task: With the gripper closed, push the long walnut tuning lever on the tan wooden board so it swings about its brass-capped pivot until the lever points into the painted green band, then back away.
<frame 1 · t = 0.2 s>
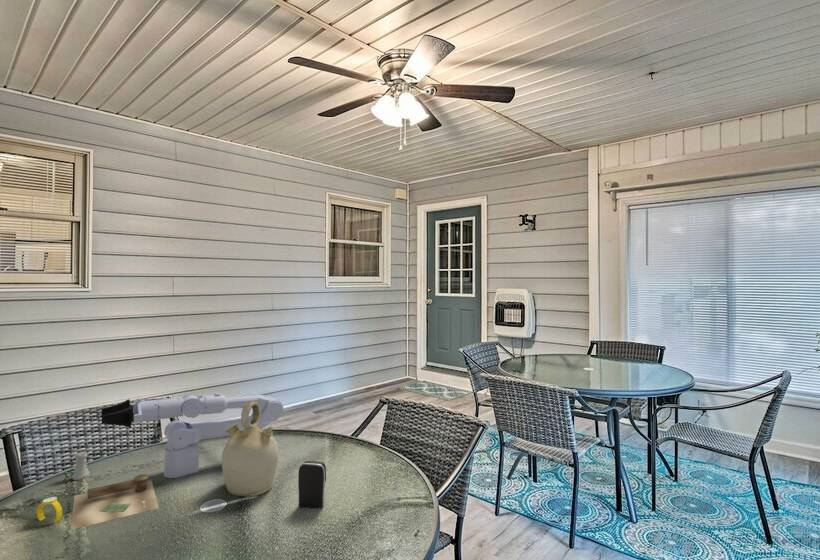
hand: (101, 416, 124), 21 cm above the table, tool horizontal, fingers open, 7 cm apart
tan wooden board: (115, 504, 116), on the table
rook chess piece: (80, 480, 131), on the table
battery charger: (312, 505, 118), on the table
watch: (49, 524, 107), on the table
jug: (250, 489, 127), on the table
peg lever: (118, 488, 120), point 3 cm above the table, hinge at 0.0°
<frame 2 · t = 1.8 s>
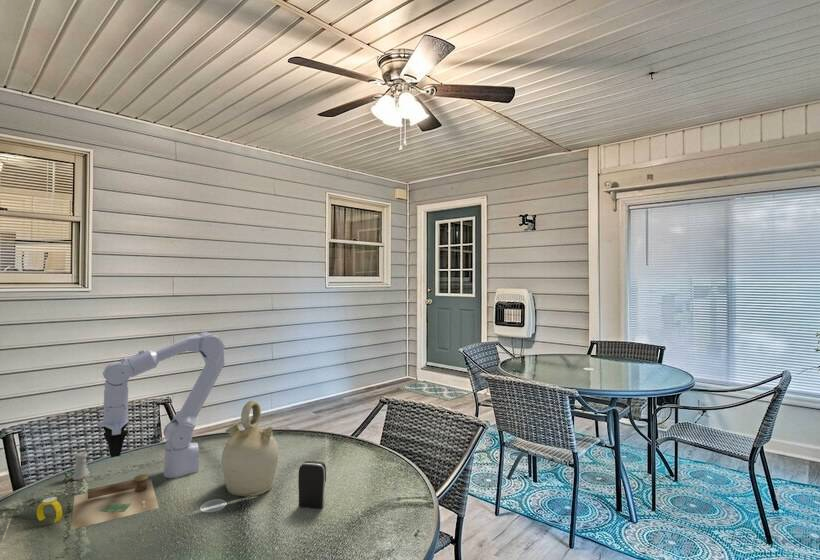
hand: (115, 453, 125), 10 cm above the table, tool pointing down, fingers open, 5 cm apart
nothing on the table moved.
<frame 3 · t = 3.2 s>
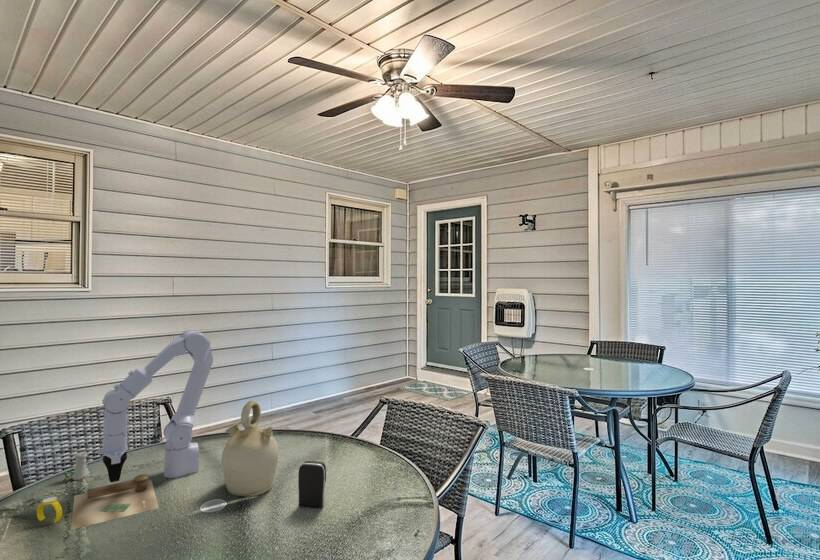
hand: (114, 480, 125), 3 cm above the table, tool pointing down, fingers closed
nothing on the table moved.
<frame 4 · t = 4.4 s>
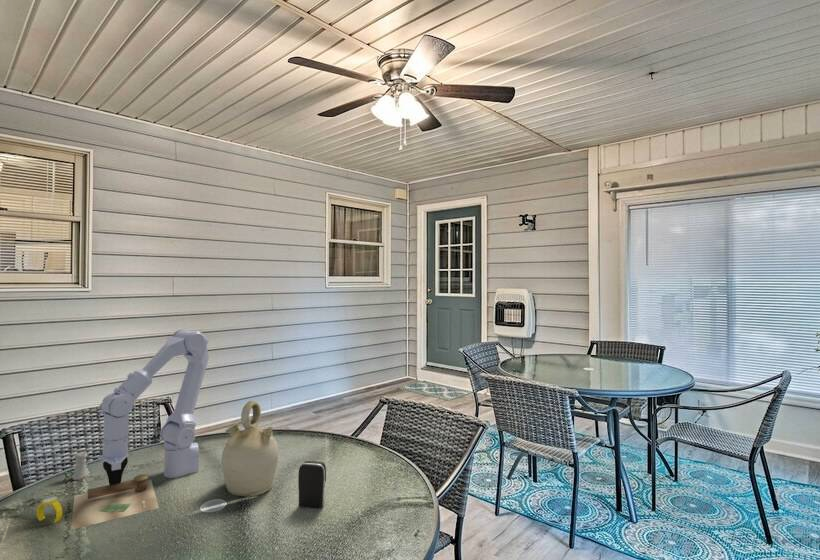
hand: (114, 487, 121), 3 cm above the table, tool pointing down, fingers closed, pressing on peg lever
peg lever: (118, 488, 120), point 3 cm above the table, hinge at 0.1°, touching gripper
everything else where it was.
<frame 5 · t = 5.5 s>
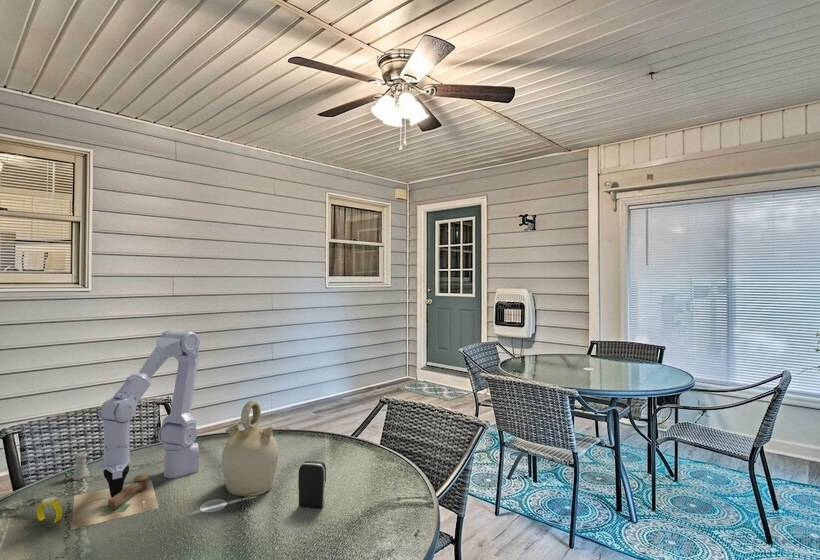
hand: (116, 496, 116), 3 cm above the table, tool pointing down, fingers closed, pressing on peg lever
peg lever: (129, 491, 118), point 3 cm above the table, hinge at 54.4°, touching gripper
everything else where it was.
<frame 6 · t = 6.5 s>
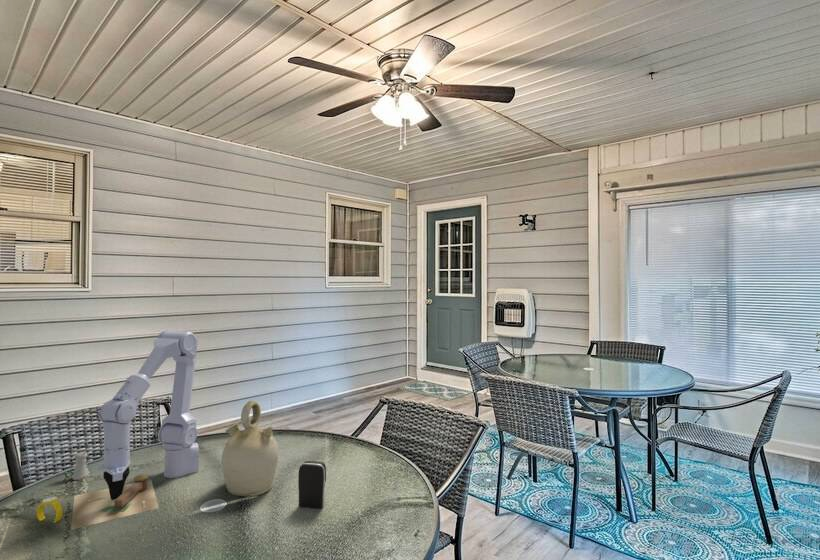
hand: (116, 498, 115), 3 cm above the table, tool pointing down, fingers closed, pressing on peg lever
peg lever: (131, 491, 118), point 3 cm above the table, hinge at 61.9°, touching gripper
everything else where it was.
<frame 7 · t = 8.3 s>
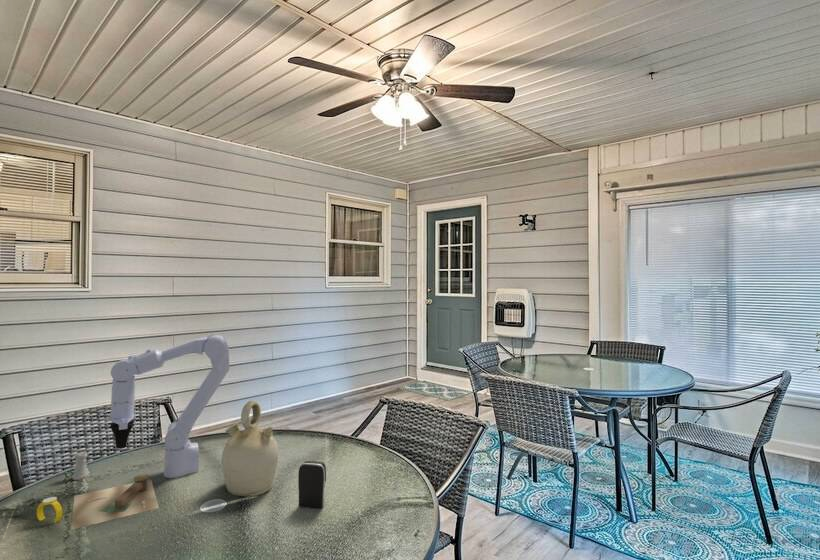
hand: (120, 447, 129), 10 cm above the table, tool pointing down, fingers closed
peg lever: (131, 491, 118), point 3 cm above the table, hinge at 62.4°
everything else where it was.
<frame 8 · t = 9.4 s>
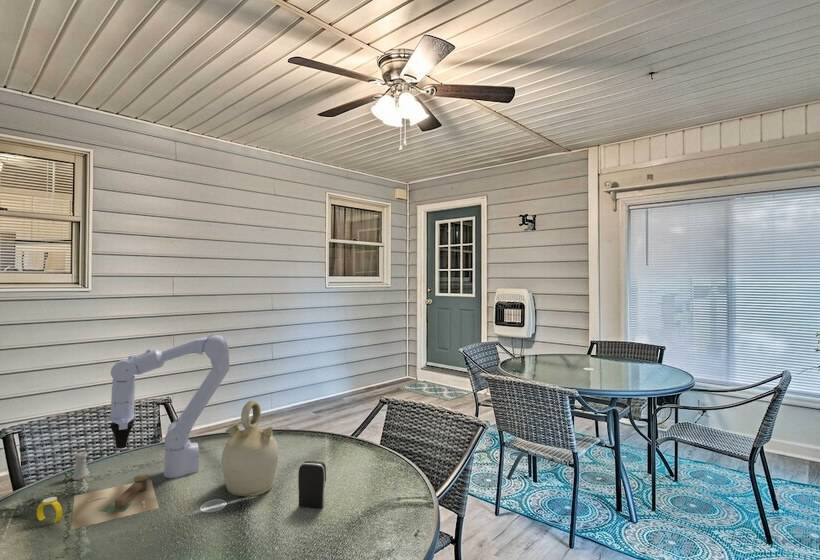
hand: (120, 447, 129), 10 cm above the table, tool pointing down, fingers closed
nothing on the table moved.
at the end: peg lever at +62° (first picture: +0°) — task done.
